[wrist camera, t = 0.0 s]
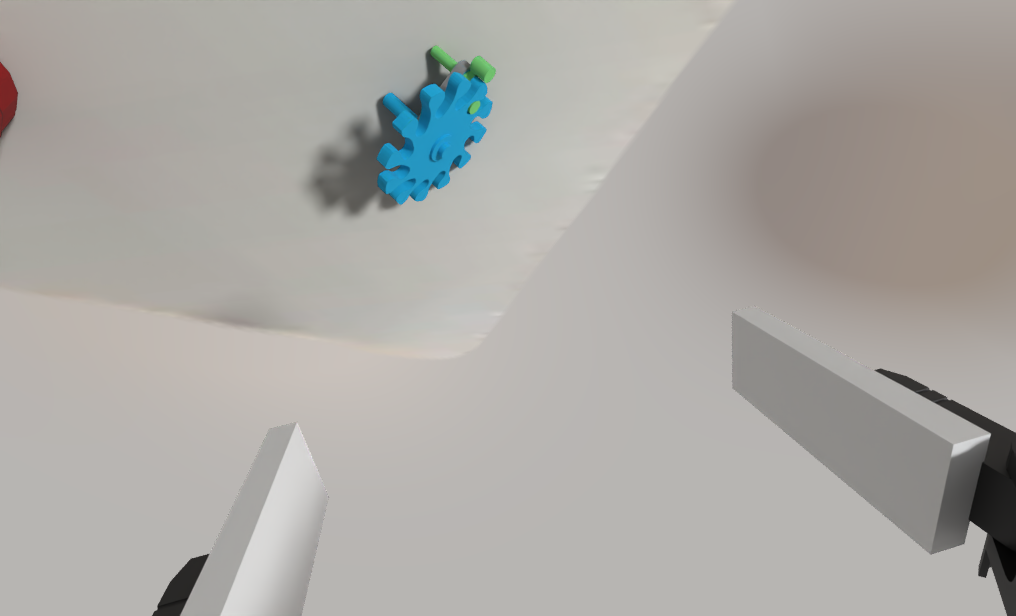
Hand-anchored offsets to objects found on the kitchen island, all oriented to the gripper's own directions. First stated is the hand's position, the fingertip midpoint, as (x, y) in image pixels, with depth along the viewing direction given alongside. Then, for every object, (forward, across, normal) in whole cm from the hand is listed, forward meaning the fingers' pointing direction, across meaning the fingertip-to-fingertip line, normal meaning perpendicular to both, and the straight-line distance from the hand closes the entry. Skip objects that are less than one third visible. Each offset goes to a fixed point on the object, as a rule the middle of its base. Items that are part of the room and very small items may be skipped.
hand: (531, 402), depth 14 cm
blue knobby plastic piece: (+27, 0, +8) cm, 28 cm away
